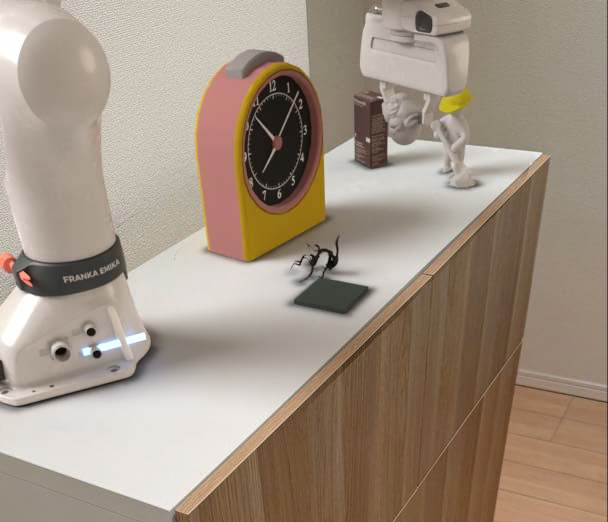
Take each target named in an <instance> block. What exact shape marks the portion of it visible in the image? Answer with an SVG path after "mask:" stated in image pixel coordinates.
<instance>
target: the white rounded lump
mask: <svg viewBox="0 0 608 522" xmlns="http://www.w3.org/2000/svg"><path fill="white" fill-rule="evenodd" d="M409 96H410V95H409V94H408V93H406V92H398V93H395V94H394V95H392V96H391V98H390V99H387V100H385V102H383V103H382V112H383V115H384V118H385V120H386V122H388V134H389V136H390V138H391V140H392V141H393V142H394V143H395V144H397V145H400V146H409V145H411V144H413V143H415V141H417V139H418V138H419V137H420V135H421V132H422V129H423V128H422V126H423V125H421V124H419V123H418V111H422V110H423V108H424V107H422V106H421V104H420V103H417V102H416V100H414V99H412V98H411V97H409Z"/></svg>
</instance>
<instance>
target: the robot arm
mask: <svg viewBox="0 0 608 522" xmlns="http://www.w3.org/2000/svg"><path fill="white" fill-rule="evenodd" d="M62 1H63V0H0V128H1V129H0V130H1V134H2V139H3V140H2V143H3V151H4V159H5V175H4V178H3V186H4V191H5V194H6V197H7V200H8V204H9V207H10V210H11V214H12V217H13V220H14V224H15V228H16V230H17V233H18V238H19V240H20V244H21V247H22V249H21V251H20V253H19V254H18V256H17V257H14V255H12V254H11V253H9V252H2V253H1V254H0V268H1V269H2V270H3V271H5V272H6V273H7V274H10V275H12V277H13V280H14V282H15V285H16V286H15V287H14V289H13V290H12V291H11V292H10V294H9V295H8V296H7V297H6V298H5V300H4V301H3V303H2V304H1V305H0V402H1V403H3V404H6V405H9V406H14V407H15V406H16V407H19V406H24V405H28V404H32V403H36V402H39V401H43V400H44V401H45V400H47V399H51V398H55V397H59V396H63V395H66V394H70V393H74V392H78V391H82V390H84V389H89V388H93V387H97V386H101V385H105V384H108V383H112V382H117V381H120V380H124V379H128V378H130V377H131V376H133V375H134V374H135V371H136V368H137V364H138V363H139V362H140V360H141V359H142V358H144V357H145V356H146V354H147V353H148V351H149V350H150V348H151V345H152V340H151V339H152V338H151V335H150V334H149V332H148V331H147V329H146V327H145V325H144V323H143V321H142V319H141V317H140V315H139V312H138V310H137V307H136V305H135V302H134V298H133V296H132V293H131V290H130V287H129V283H128V279H129V276H128V275H129V274H128V270H127V269H128V266H127V259H126V256H125V252H124V248H123V246H122V243H121V239H120V236H119V235H118V233H117V234H116V232H115V226H114V222H113V216H112V212H111V207H110V203H109V196H108V193H107V192H108V191H107V187H106V183H105V178H104V177H105V176H104V169H103V156H102V117H103V116H102V115H103V114H102V113H103V112H104V110H105V108H106V106H107V103H108V100H109V97H110V93H111V87H112V86H111V85H112V83H111V82H112V79H111V69H110V64H109V63H110V62H109V60H108V57H107V55H106V53H105V50H104V48H103V46H102V44H101V43H100V41H99V39H97V37H96V35H94V34H93V32H92V31H90V30H89V29H88V27H86V25H84V24H83V23H82V22H81V21H80V20H79V19H78V18H77V17H75V16H74V15H73V14H72V13H70V12H69V11H67V10H66V9H64V8H62V6H61V5H62ZM381 1H382V2H381V5H380V4H372V6H371V7H370V8H369V9H368V11H367V13H365V24H364V26H363V29H362V35H361V41H360V42H361V44H360V55H359V68H360V72H361V74H362V77H366V78H369V79H373V80H376V81H379V91H380V94H382V97H383V100H384V102H385V100H387V99H390V98H391V96H392V95H394V94H396V92H395V88H396V86H400V87H403V88H407V89H411V90H415V91H420V92H422V93H423V101H425V102H424V105H423V107H422V108H423V110H422V111H418V123H419V124H421V125H422V126H424V127H427V126H431V124H432V123H433V122H434V115H435V114H434V112H435V111H436V109H437V107H438V105H439V104H440V102H441V100H442V98H443V97H451V96H455V95H459V94H461V93H462V91H463V90H464V88H467V83H468V77H469V67H470V66H469V65H470V39H469V37H468V34H467V33H466V32H465V31H466V30H469V29H470V28H471V25H472V13H471V11H470V10H469V9H467V8H466V7H465V6H464V5H462V4H460V3H459V2H458V1H457V0H381Z"/></svg>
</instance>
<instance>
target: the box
mask: <svg viewBox="0 0 608 522" xmlns="http://www.w3.org/2000/svg"><path fill="white" fill-rule="evenodd" d="M383 102H384V100H383V97H382V94H381V92H376V91H372V90H368V91H363V92H359V93H356V94H355V93H354V94H353V128H354V129H353V132H354V133H353V134H354V135H353V137H354V138H353V139H354V143H353V145H354V146H353V147H354V148H353V149H354V161H355V162H358V163H360V164H362V165H364V166H365V167H368V168H369V169H374V168H379V167H382V166H385V165H387V164H388V149H389V148H388V143H389V142H388V139H389V137H388V135H389V124H388V122H386V120H385V118H384V115H383V112H382V103H383Z"/></svg>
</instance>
